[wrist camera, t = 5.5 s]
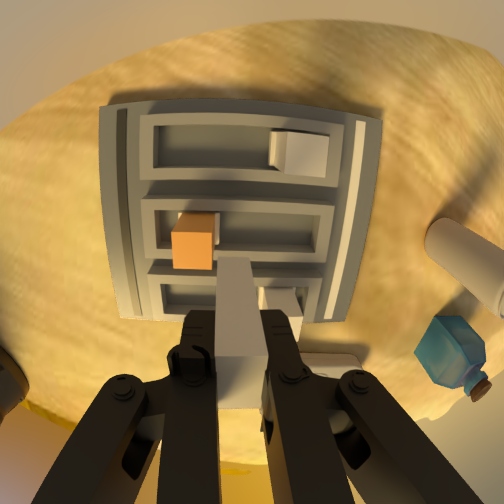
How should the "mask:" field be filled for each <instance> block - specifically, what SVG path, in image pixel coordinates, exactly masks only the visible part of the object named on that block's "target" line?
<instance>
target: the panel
mask: <svg viewBox="0 0 504 504" xmlns="http://www.w3.org/2000/svg"><path fill="white" fill-rule="evenodd" d="M382 124H383V120H380V119H376V118H371V117H367V116H363V115H358V114H353V113H349V112H344V111H338V110H333V109H327V108H321V107H314V106H308V105H300V104H292V103H283V102H273V101H261V100H246V99H218V98H194V99H167V100H152V101H140V102H130V103H122V104H114V105H107V106H101V107H100V109H99V172H100V190H101V203H102V213H103V222H104V231H105V239H106V246H107V252H108V259H109V265H110V270H111V276H112V281H113V286H114V291H115V296H116V301H117V305H118V310H119V314H120V318H130V319H142V320H155V321H170V322H184V317H185V316H186V315H187V314H188V313H189V312H190V310H216V284H217V261H218V257H249V259H250V264H251V269H252V274H253V280H254V285H255V290H256V295H258V286H263V287H296V291H295V295H296V298H297V301H298V304H299V306H300V309H301V312H302V314H303V320H302V323H322V322H341V321H345V319H346V316H347V312H348V309H349V305H350V301H351V298H352V294H353V290H354V287H355V283H356V279H357V275H358V271H359V267H360V262H361V258H362V254H363V249H364V244H365V240H366V235H367V230H368V225H369V220H370V214H371V209H372V203H373V197H374V191H375V184H376V177H377V170H378V162H379V154H380V145H381V135H382ZM270 132H296V133H304V134H313V135H320V136H327V137H329V146H328V156H327V165H326V175H325V178H323V177H313V176H302V175H290V174H283V173H282V172H281V171H280V170H278V169H277V168H276V167H275V166H269V165H268V152H269V138H270ZM180 210H198V211H220V239H219V245H215V248H214V256H213V263H212V270H207V269H175V268H173V255H172V237H171V232H172V230H173V228H174V226H175V224H176V223H177V221H178V212H179V211H180Z"/></svg>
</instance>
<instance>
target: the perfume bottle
mask: <svg viewBox="0 0 504 504" xmlns="http://www.w3.org/2000/svg"><path fill="white" fill-rule="evenodd" d="M414 354H415V355H416V357H417V358H418V359H419V361H420V362H421V364H422V365H423V367H424V369H425V370H426V372H427V373H428V375H429V376H430V378H431V379H432V381H433V382H434V383H435V384H438V385H441V386H444V387H447V388H450V389H455V388H458V387H462V386H464V392H465V393H466V395H467V396H471V399H472V402H476V401H478V400H479V399H480V398H482V397H483V396H484V395H485V394H486V393H487V392H488V390H489V389H490V388H491V386H492V384H491V383H490V382H489V381H488V380H487V379H488V376H487V375H486V373H485V372H484V371H481V370H480V369H481V368H482V366H483V365H484V364H485V362H486V353H485V342H484V341H483V340H482V339H481V337H480V336H479V335H478V334H477V333H476V332H475V331H474V330H473V329H472V327H471V326H470V325H469V324H468V323H467V322H466V321H465V320H464V319H463V318H462V317H461V316H434V318H433V319H432V321H431V323H430V325H429V327H428V329H427V331H426V332H425V334H424V336H423V338H422V339H421V341H420V343H419V344H418V346H417V348H416V349H415V351H414Z"/></svg>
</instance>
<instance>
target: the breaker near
mask: <svg viewBox="0 0 504 504" xmlns="http://www.w3.org/2000/svg"><path fill="white" fill-rule="evenodd" d="M328 146H329V137H327V136H320V135H313V134H304V133H296V132H270V138H269V152H268V165H269V166H275V167H276V168H277V169H278V170H280V171H281V172H282V173H283V174H290V175H302V176H313V177H323V178H325V175H326V165H327V156H328Z"/></svg>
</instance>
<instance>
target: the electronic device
mask: <svg viewBox="0 0 504 504" xmlns="http://www.w3.org/2000/svg"><path fill="white" fill-rule="evenodd" d="M300 355H301V359H302V361H303V363H304V364H305V365H307V366H308V367H309V368H310V369H311V371H312V372H313V373H315V374H317V375H320V376H324V377H331V378H338V379H340V378H341V376H342V375H343V374H344V373H345V372H347V371H349V370H354V369H359V370H363V368H362V366H361V364H360V362H359V361H358V359H357V357H356V356H354V355H352V354H334V353H300ZM259 410H260V414H261V415H262V417H263V407H262V403H261V408H259Z"/></svg>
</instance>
